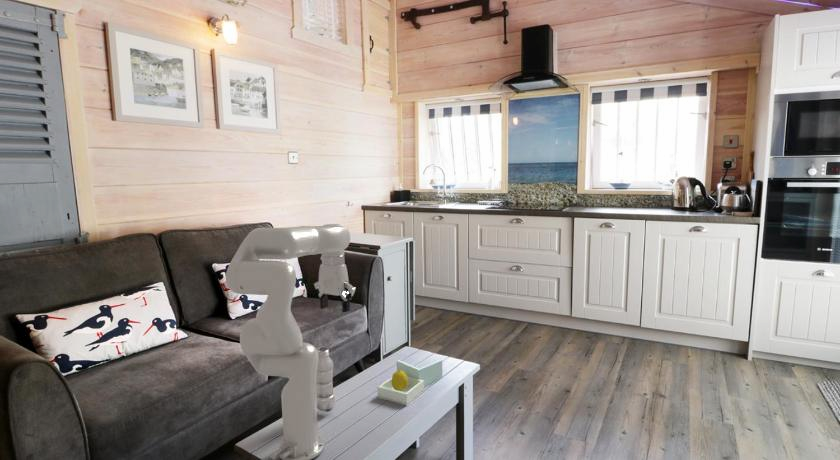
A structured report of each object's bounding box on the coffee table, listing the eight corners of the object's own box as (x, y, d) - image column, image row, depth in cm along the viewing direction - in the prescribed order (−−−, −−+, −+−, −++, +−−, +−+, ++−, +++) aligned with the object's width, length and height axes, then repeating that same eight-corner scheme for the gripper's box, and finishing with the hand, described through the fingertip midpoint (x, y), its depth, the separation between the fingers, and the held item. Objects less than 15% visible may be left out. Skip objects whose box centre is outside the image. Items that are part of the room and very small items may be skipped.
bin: (406, 405, 149) (406, 394, 149) (378, 397, 155) (377, 386, 154) (424, 391, 159) (424, 380, 159) (396, 384, 165) (396, 373, 164)
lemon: (408, 388, 159) (408, 366, 159) (406, 396, 154) (406, 373, 153) (393, 388, 160) (392, 366, 159) (390, 395, 155) (390, 373, 154)
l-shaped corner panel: (442, 379, 168) (442, 360, 167) (419, 390, 160) (418, 370, 159) (420, 370, 177) (419, 351, 176) (397, 380, 169) (396, 360, 168)
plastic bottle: (338, 404, 151) (336, 346, 148) (329, 414, 144) (327, 354, 142) (321, 402, 152) (319, 345, 150) (311, 412, 146) (308, 352, 144)
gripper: (306, 260, 154) (308, 309, 156) (346, 264, 145) (347, 316, 147) (321, 257, 160) (323, 303, 162) (360, 260, 152) (362, 310, 154)
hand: (335, 309), depth 155 cm, fingers open, 9 cm apart
